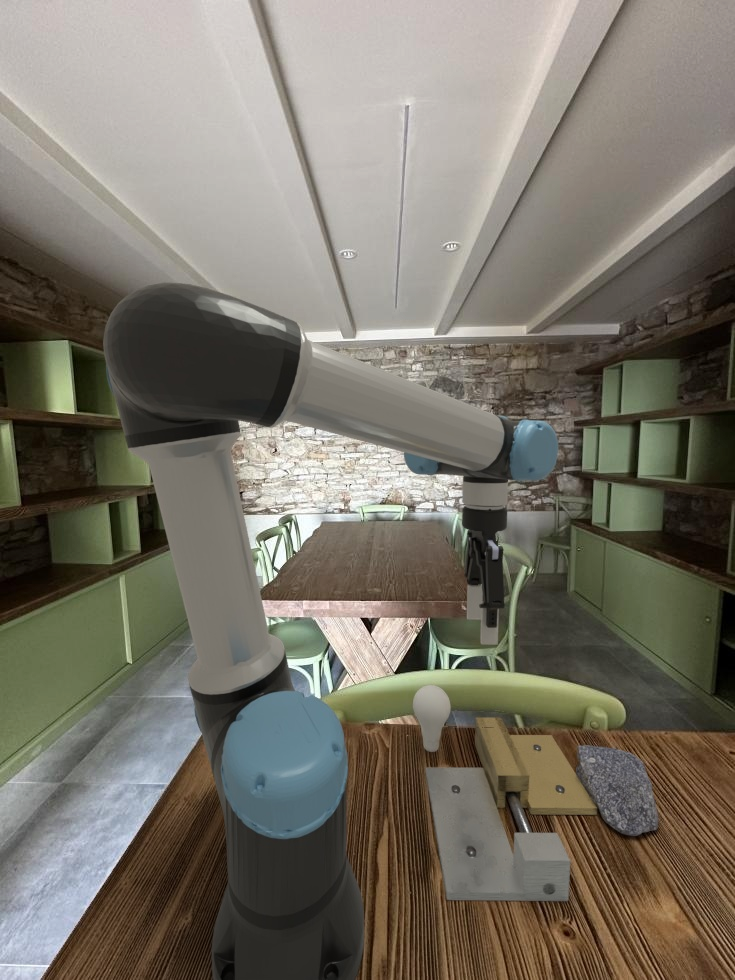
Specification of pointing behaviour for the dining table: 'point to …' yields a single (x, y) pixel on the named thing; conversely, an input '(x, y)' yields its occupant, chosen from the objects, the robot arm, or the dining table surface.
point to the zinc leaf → (491, 844)
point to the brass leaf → (530, 771)
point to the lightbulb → (431, 714)
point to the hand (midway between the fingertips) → (481, 630)
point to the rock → (618, 788)
